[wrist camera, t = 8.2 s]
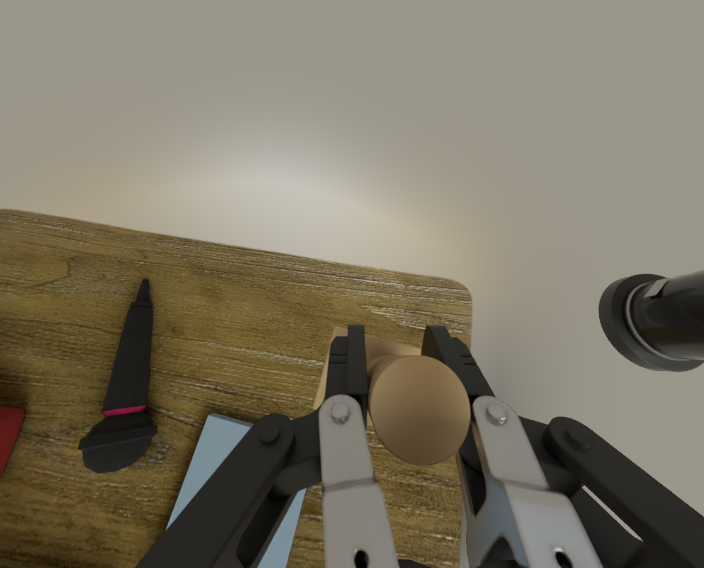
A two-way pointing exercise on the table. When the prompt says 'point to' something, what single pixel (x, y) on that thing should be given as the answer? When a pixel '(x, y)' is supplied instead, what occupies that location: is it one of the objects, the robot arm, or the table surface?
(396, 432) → the wooden stamp
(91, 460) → the microphone
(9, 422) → the red curved piece
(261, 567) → the mat
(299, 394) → the table surface
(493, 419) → the robot arm
